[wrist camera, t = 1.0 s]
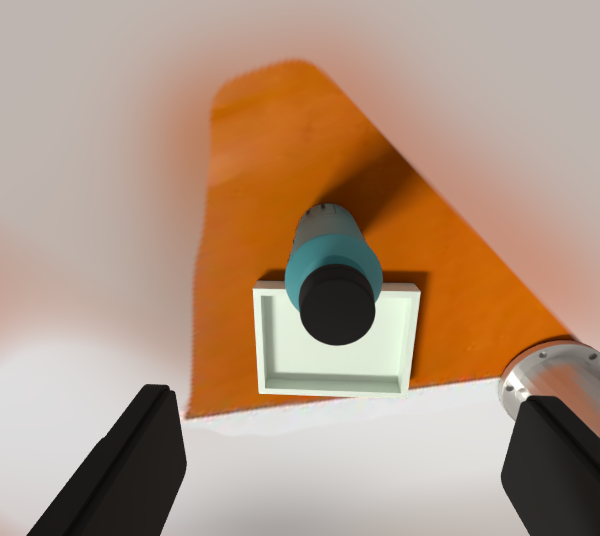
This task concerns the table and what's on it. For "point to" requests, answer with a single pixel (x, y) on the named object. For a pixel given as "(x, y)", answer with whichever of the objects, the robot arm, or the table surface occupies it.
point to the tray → (335, 348)
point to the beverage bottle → (333, 276)
